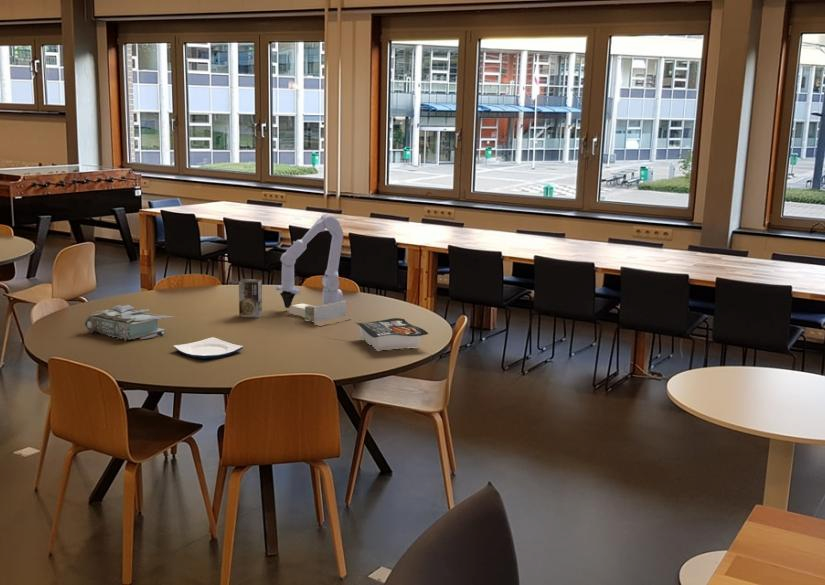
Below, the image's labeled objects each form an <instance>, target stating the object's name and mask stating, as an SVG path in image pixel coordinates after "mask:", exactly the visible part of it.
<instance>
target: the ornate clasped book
mask: <svg viewBox="0 0 825 585" xmlns="http://www.w3.org/2000/svg"><path fill="white" fill-rule="evenodd" d="M148 311H150V309H149V308H148V309H141V310H136V307H133V306H131V305H130V304H126V305H119V304H117V305H115V306H113V307H112V308H110V310H109V309H105V310H101V312H100V310H97V311H94V312H93V313H92V314H90V315H89V316H88V317H87V318H86V320H85V321H84V324H83V325H84V326H85V328H86V330H87V331H88V332H89V333H90V334H92V333H94V332H98V333H100V334H102V335H105V334H106V335H105V336H107V335H108V337H110V336H112V337H111V338H114V337H118V338H117V339H119V338H120V340H124V341H125V342H127V340H136V339H135V338H140V339H139V340H145V339H151V338H155V337H157V336H158V333H160V334H161V335H162V336H163V335H164V333H165V331H167V329H166V328H160V327H159V323H158V322H159V321H158V320H162V319H166V318H174V316H173V315H172V316H170V315H164V314H163V315H159V314H154V313H149V312H148ZM98 312H99V313H98ZM142 337H144V338H142ZM122 338H124V339H122Z"/></svg>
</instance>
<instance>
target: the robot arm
mask: <svg viewBox="0 0 825 585" xmlns="http://www.w3.org/2000/svg"><path fill="white" fill-rule="evenodd" d="M326 231H328V232H329V234H330V235H331V241H330V247H329V254H328V260H327V266H326V270H325V272H324V276H322V279H321V283H322V286H323V288H322V304H321V305H326V303H336V302H340V301H344V295H343V294H344V293H343V291H342V290H341V289H339V287H340V281H339V277H340V276H339V266H340V260H341V259H340V258H341V253H342V245H343V240H344V231H343V229H342V226H341V223H340V221H339V220H338V219H337V218H336V217H335V216H333V215H331V214H329V213H324V214H323V215H321V217H320V218H318V219H317V220H316V221H315V223H314V224H312V226H311V227H310V229H309V230H308V231H307V232H306V233H305V234H304V235H303V237H302V238H301V239H296V241H295V240H293V241H292V245H291V246H290V247H289V248H288V249H286V251H285V252H284V253H282V254H281V256H280V257H279V259H280V262H281V285H275V291H281V292H280V294H279V295H280V296H281V299H282V300H283V304H284V308H286V309H290V306H291V305H292V302H293V300H294V297H295V296H297V295H299V296H300V295H301V290H300V289H298V288H296V287H295V264H296V262H297V259H298V258H299V257H301V255H303V253H304V252H305V251H306V250H307V245H308V243H309V242H311V241H312V239H313V238H314V237H315V236H317V235H318V233H320V232H326Z"/></svg>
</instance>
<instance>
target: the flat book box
mask: <svg viewBox="0 0 825 585" xmlns="http://www.w3.org/2000/svg"><path fill="white" fill-rule="evenodd" d="M306 306H313V307H316V306H317V305H315V306H314V305H312V304H307V303H298V304H293V305H292V304H291V306H290V308H289V312H288V314H289V313H293V314H297V315H301V316H305V307H306Z"/></svg>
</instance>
